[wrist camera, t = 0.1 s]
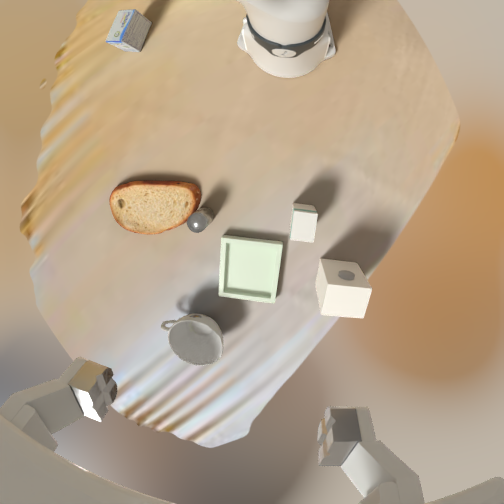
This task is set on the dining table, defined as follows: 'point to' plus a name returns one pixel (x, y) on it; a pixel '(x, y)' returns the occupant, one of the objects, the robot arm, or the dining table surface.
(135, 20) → the medicine box
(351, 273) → the cream tall block
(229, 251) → the tray
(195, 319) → the teacup
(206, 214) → the cylinder
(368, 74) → the dining table surface
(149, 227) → the bread slice
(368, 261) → the dining table surface
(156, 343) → the dining table surface
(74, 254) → the dining table surface
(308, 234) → the teal band cartridge
